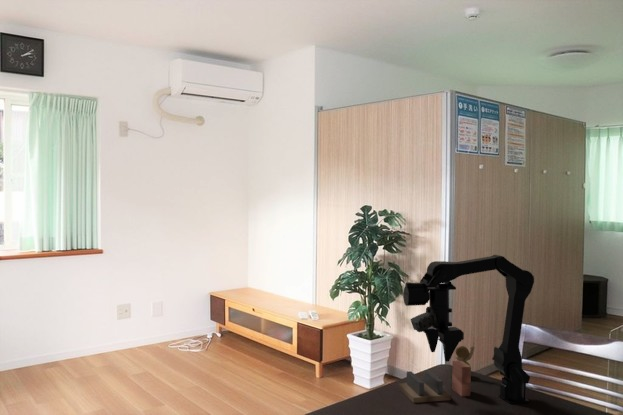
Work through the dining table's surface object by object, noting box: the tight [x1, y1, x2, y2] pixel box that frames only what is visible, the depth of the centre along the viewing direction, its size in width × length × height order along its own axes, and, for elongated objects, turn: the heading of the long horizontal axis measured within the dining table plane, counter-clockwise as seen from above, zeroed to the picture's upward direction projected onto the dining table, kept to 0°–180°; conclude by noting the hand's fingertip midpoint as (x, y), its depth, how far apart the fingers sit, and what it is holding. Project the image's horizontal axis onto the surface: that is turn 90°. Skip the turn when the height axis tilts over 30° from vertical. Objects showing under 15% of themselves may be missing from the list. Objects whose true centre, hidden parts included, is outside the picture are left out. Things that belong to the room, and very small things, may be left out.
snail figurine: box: [454, 341, 476, 368], centre depth 176 cm, size 5×6×12 cm
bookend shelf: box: [398, 370, 452, 404], centre depth 161 cm, size 12×12×6 cm
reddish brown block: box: [451, 360, 472, 398], centre depth 162 cm, size 3×6×9 cm, turn 12°
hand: (439, 356), depth 154 cm, fingers open, 9 cm apart
